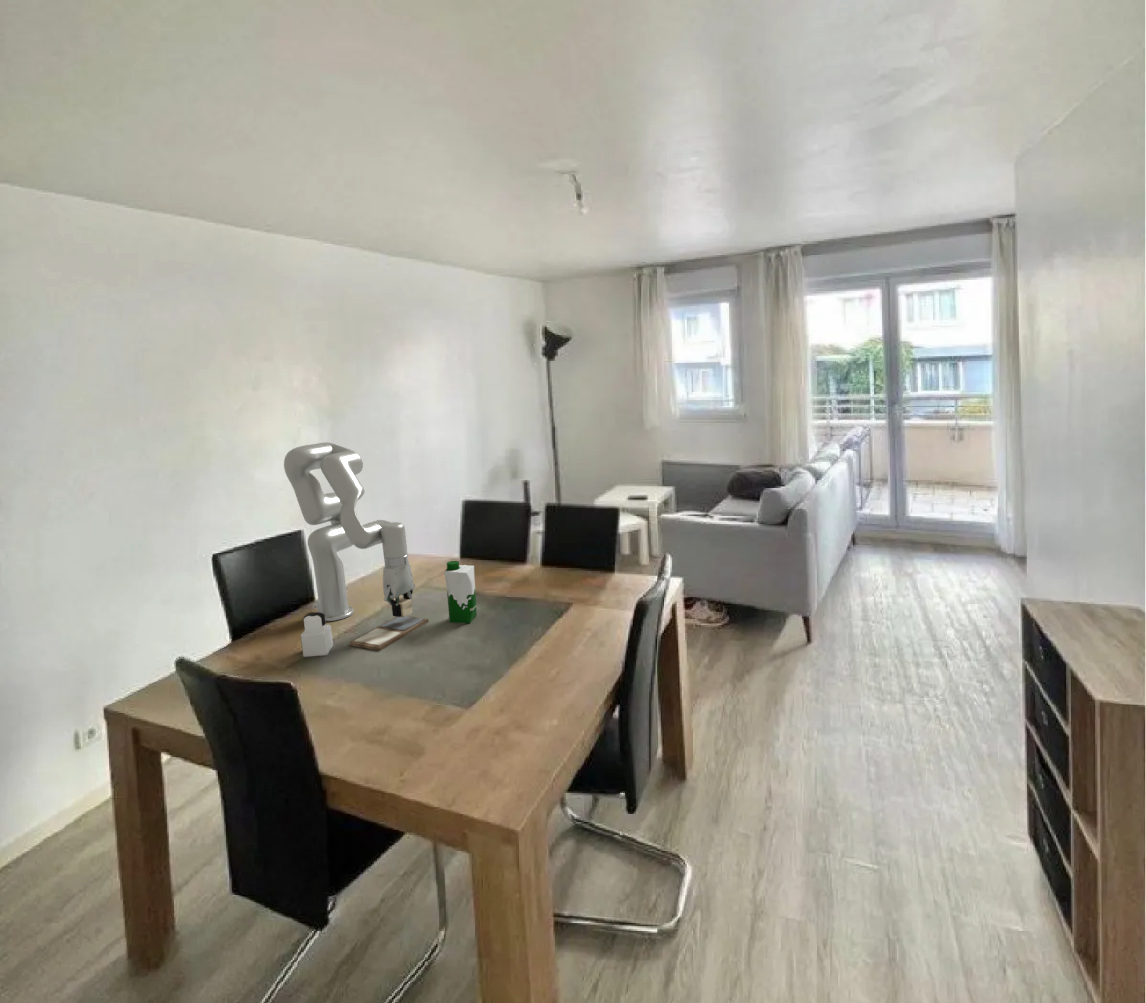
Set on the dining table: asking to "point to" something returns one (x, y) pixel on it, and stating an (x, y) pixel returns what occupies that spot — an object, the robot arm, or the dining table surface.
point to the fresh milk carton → (460, 592)
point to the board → (388, 632)
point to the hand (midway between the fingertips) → (402, 612)
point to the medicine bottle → (316, 635)
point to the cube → (405, 607)
